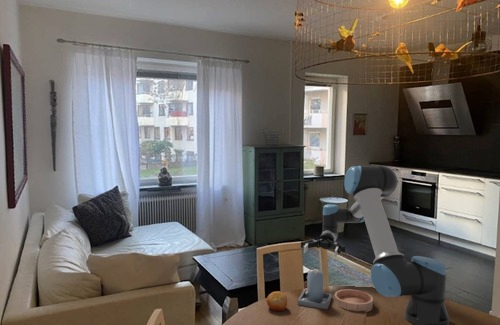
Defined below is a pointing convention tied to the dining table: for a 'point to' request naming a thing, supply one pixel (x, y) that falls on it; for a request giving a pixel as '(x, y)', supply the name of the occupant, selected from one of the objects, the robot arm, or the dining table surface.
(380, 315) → the dining table surface
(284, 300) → the fruit
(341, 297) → the bowl
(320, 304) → the parts tray
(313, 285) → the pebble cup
